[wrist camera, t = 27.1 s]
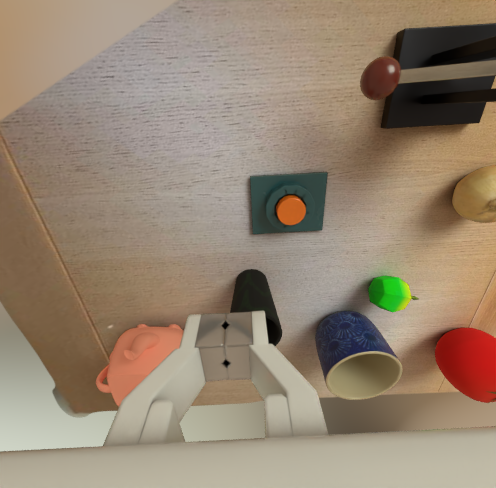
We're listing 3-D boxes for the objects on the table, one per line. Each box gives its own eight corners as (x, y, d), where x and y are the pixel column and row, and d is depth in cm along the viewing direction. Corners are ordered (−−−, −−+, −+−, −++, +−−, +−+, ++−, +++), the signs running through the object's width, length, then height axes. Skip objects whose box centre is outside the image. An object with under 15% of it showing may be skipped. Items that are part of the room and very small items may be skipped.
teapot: (166, 374, 56) (148, 439, 45) (103, 335, 50) (63, 399, 39) (214, 343, 52) (207, 406, 41) (151, 296, 46) (123, 355, 35)
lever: (359, 101, 28) (355, 101, 25) (365, 61, 26) (361, 56, 23) (552, 89, 21) (576, 87, 19) (575, 35, 20) (605, 24, 17)
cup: (242, 257, 42) (243, 306, 32) (280, 274, 44) (293, 326, 34) (222, 289, 46) (217, 343, 35) (259, 304, 47) (264, 360, 37)
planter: (383, 309, 49) (418, 358, 39) (355, 352, 54) (380, 404, 45) (323, 298, 47) (344, 346, 37) (301, 343, 53) (315, 395, 43)
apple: (383, 310, 39) (435, 317, 40) (383, 269, 40) (434, 278, 41) (357, 308, 46) (403, 315, 47) (358, 274, 47) (402, 281, 48)
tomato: (494, 326, 52) (563, 385, 40) (452, 361, 56) (504, 422, 45) (448, 309, 49) (508, 367, 38) (409, 347, 54) (452, 409, 43)
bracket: (380, 127, 34) (469, 138, 20) (397, 32, 29) (526, -34, 16) (470, 122, 33) (616, 129, 20) (501, 26, 29) (718, -46, 16)
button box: (252, 232, 40) (253, 239, 38) (250, 176, 36) (250, 180, 34) (321, 228, 40) (325, 235, 38) (326, 171, 36) (331, 175, 34)
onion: (490, 149, 35) (544, 157, 29) (506, 190, 38) (559, 206, 32) (435, 187, 38) (473, 202, 31) (454, 223, 40) (493, 244, 34)
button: (276, 221, 37) (277, 226, 36) (275, 195, 35) (277, 199, 34) (302, 220, 37) (305, 224, 36) (304, 194, 35) (306, 197, 34)
